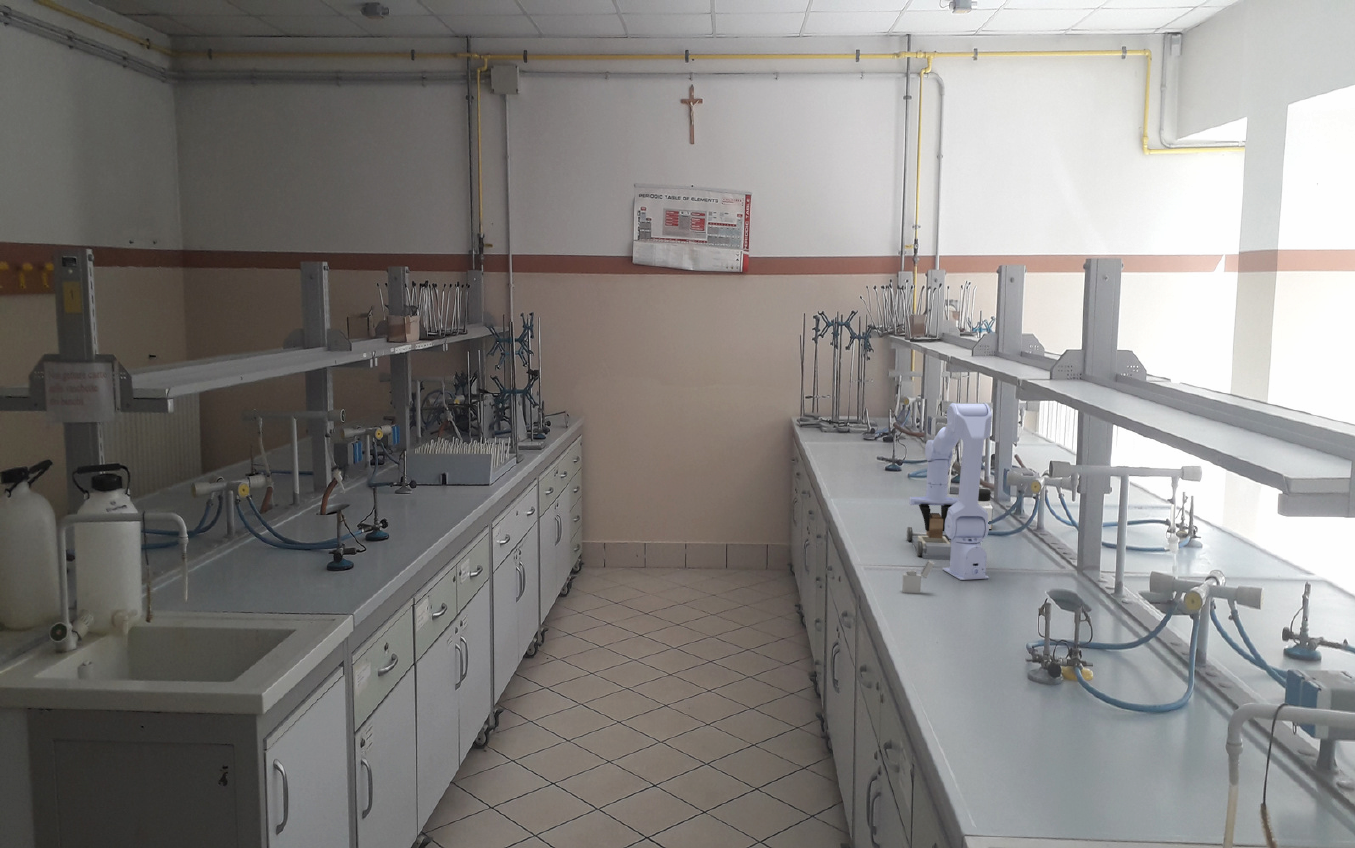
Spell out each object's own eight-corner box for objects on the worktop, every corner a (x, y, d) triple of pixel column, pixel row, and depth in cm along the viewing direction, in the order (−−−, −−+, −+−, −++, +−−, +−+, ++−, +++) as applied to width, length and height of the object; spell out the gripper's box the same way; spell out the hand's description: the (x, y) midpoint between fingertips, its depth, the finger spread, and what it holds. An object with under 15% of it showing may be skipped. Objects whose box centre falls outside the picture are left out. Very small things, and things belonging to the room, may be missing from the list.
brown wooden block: (942, 538, 270) (943, 516, 269) (929, 537, 270) (930, 515, 270) (939, 534, 274) (940, 512, 274) (926, 533, 275) (927, 512, 274)
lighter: (902, 592, 232) (904, 560, 231) (902, 590, 234) (903, 558, 233) (933, 593, 232) (934, 561, 231) (931, 591, 233) (933, 559, 232)
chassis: (964, 559, 261) (964, 545, 261) (919, 558, 262) (920, 544, 262) (947, 539, 283) (947, 525, 283) (905, 537, 284) (906, 524, 283)
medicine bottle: (991, 530, 295) (994, 491, 293) (967, 528, 296) (969, 490, 294) (989, 524, 301) (991, 487, 300) (965, 523, 303) (967, 486, 301)
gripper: (960, 480, 274) (957, 527, 276) (908, 479, 275) (906, 526, 276) (965, 486, 267) (963, 533, 269) (912, 484, 268) (910, 532, 269)
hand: (934, 530), depth 272 cm, fingers closed on brown wooden block, 4 cm apart
